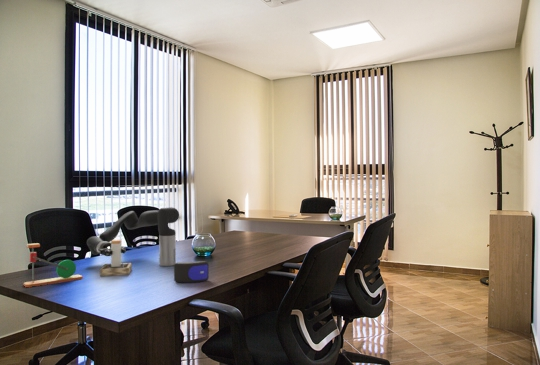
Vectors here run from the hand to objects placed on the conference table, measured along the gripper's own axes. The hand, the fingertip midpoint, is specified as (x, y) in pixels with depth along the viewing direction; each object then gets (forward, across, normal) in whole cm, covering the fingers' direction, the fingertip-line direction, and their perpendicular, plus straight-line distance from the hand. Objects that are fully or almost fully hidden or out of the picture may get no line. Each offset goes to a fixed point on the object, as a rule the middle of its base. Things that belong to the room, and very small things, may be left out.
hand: (118, 252), depth 214 cm
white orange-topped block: (-2, 0, +9) cm, 9 cm away
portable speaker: (+43, +18, +11) cm, 48 cm away
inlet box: (-2, 0, +11) cm, 11 cm away
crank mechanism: (-3, -30, +12) cm, 32 cm away
